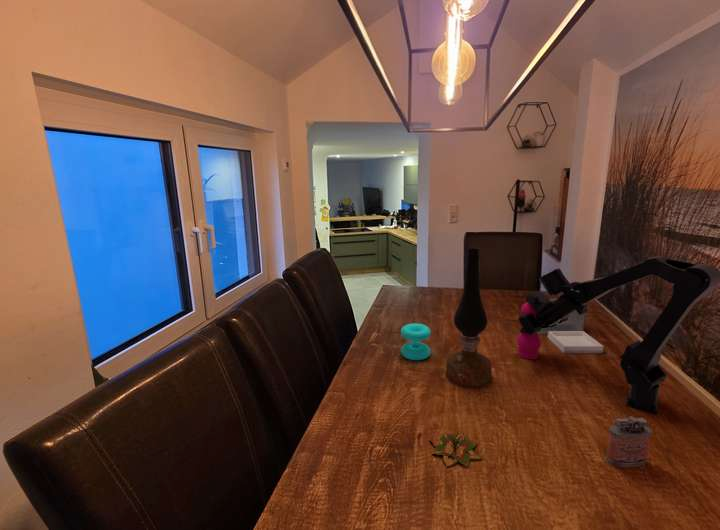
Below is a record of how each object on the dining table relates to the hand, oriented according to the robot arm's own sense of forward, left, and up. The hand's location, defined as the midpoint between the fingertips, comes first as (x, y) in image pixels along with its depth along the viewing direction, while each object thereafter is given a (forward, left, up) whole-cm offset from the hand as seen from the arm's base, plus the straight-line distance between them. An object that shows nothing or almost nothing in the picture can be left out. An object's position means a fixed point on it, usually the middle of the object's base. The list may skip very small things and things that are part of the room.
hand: (525, 330), depth 123 cm
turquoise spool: (-22, +30, -9) cm, 38 cm away
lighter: (-39, -30, -9) cm, 50 cm away
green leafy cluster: (-56, 0, -9) cm, 57 cm away
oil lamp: (-25, +10, -9) cm, 28 cm away
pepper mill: (-1, -1, -9) cm, 9 cm away
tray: (+16, -12, -9) cm, 22 cm away
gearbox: (+29, -3, -9) cm, 31 cm away
